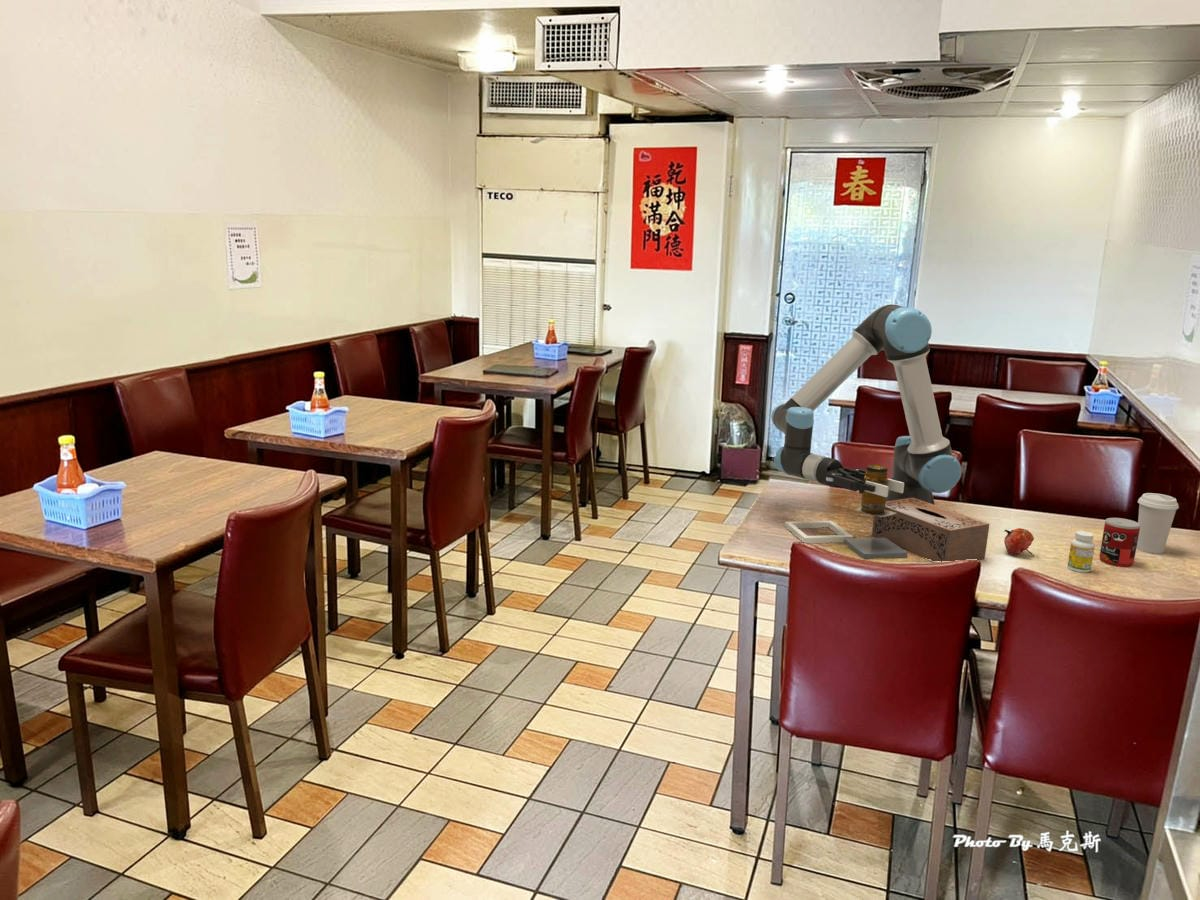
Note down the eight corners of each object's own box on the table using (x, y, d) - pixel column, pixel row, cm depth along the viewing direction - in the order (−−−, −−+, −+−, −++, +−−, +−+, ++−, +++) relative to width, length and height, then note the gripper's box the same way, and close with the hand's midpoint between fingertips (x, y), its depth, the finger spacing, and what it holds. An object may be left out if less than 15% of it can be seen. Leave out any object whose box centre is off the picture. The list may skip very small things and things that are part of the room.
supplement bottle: (1089, 574, 227) (1095, 538, 225) (1066, 570, 230) (1071, 534, 228) (1091, 568, 232) (1097, 532, 229) (1068, 563, 234) (1073, 528, 232)
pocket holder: (831, 525, 259) (831, 520, 259) (852, 542, 246) (853, 536, 245) (784, 527, 257) (785, 521, 256) (803, 543, 243) (804, 537, 243)
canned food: (1092, 556, 240) (1099, 517, 238) (1120, 556, 241) (1127, 517, 238) (1110, 567, 233) (1117, 526, 230) (1139, 567, 234) (1147, 526, 231)
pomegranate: (1026, 558, 244) (997, 532, 246) (1047, 542, 240) (1017, 515, 242) (1022, 569, 238) (992, 542, 240) (1043, 553, 234) (1013, 525, 236)
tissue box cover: (871, 537, 251) (875, 503, 249) (909, 531, 258) (913, 497, 256) (945, 568, 229) (950, 530, 227) (984, 560, 236) (989, 523, 233)
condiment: (869, 505, 243) (874, 462, 240) (897, 513, 236) (902, 469, 234) (853, 510, 238) (857, 466, 236) (880, 518, 232) (885, 473, 229)
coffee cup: (1170, 558, 241) (1180, 504, 238) (1128, 550, 246) (1138, 497, 243) (1170, 548, 249) (1180, 496, 246) (1130, 541, 254) (1139, 490, 251)
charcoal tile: (884, 542, 246) (885, 537, 246) (906, 557, 235) (907, 552, 235) (843, 543, 244) (844, 538, 244) (863, 559, 233) (864, 554, 232)
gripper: (843, 478, 256) (915, 498, 238) (799, 488, 245) (870, 509, 227) (846, 452, 254) (918, 470, 237) (801, 461, 243) (873, 481, 225)
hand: (895, 489), depth 232 cm, fingers closed on condiment, 6 cm apart
